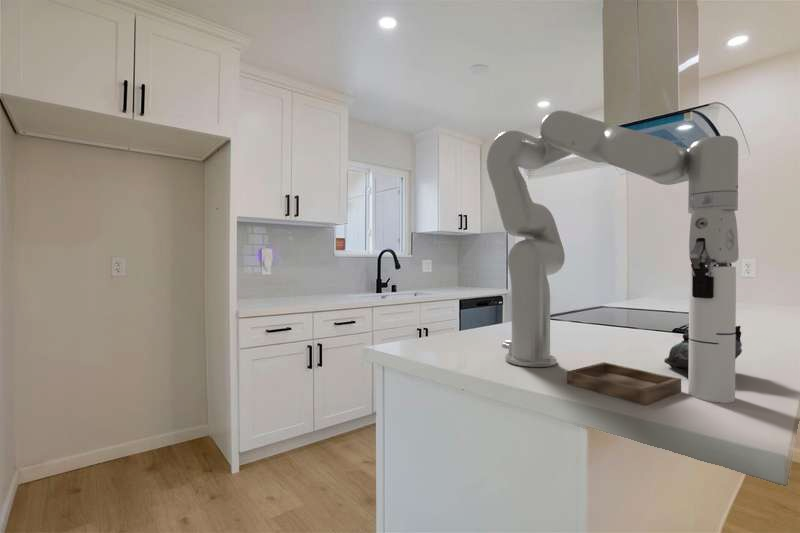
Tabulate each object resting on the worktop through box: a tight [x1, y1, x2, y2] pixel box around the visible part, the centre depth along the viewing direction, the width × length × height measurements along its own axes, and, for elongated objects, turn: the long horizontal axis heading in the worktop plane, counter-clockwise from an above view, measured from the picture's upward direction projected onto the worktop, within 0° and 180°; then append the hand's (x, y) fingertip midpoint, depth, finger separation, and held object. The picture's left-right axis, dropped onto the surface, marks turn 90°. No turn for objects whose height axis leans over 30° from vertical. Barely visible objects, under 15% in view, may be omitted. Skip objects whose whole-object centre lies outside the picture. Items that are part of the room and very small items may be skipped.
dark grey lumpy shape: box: [663, 325, 743, 370], centre depth 94 cm, size 15×12×14 cm
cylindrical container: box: [687, 265, 737, 404], centre depth 78 cm, size 7×7×25 cm
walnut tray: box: [566, 361, 682, 406], centre depth 84 cm, size 16×14×2 cm
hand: (711, 296), depth 78 cm, fingers closed on cylindrical container, 7 cm apart
